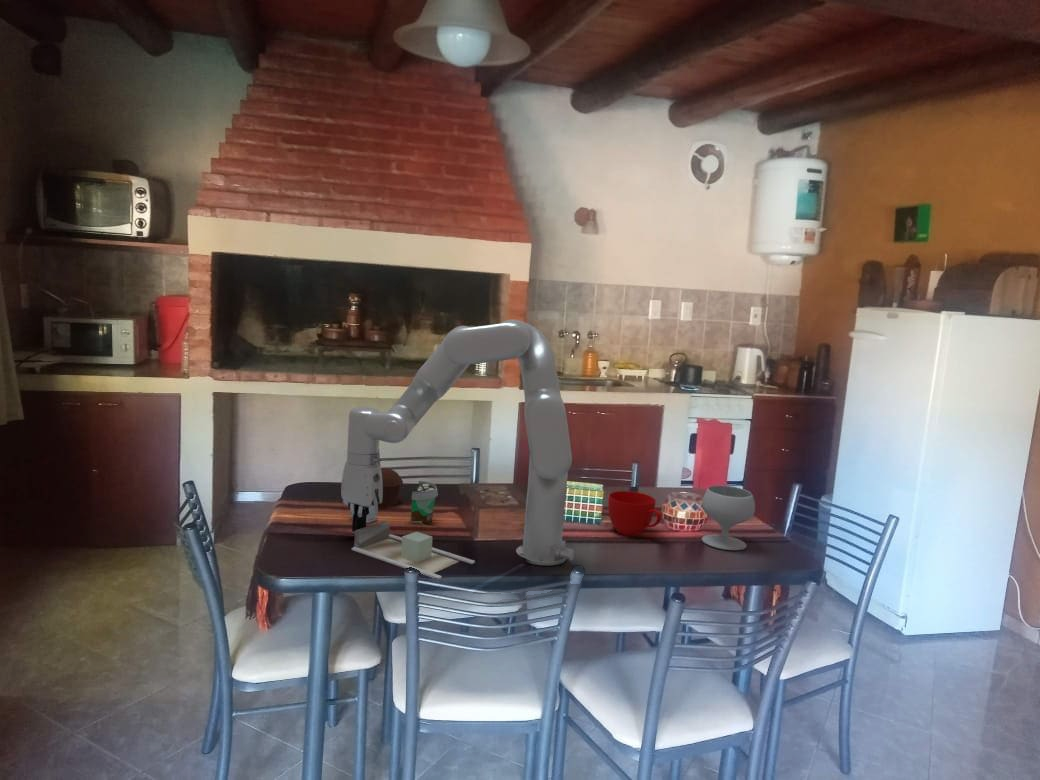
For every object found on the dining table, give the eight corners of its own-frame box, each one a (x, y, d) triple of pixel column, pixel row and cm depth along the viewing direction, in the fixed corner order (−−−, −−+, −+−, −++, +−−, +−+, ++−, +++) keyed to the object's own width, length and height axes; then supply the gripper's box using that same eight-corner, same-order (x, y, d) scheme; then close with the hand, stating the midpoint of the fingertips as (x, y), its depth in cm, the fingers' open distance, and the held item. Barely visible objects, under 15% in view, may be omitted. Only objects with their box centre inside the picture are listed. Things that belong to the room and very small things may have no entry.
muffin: (403, 508, 219) (405, 475, 217) (364, 509, 216) (366, 474, 214) (399, 496, 230) (401, 464, 229) (361, 496, 227) (363, 464, 226)
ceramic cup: (641, 547, 202) (645, 511, 200) (595, 528, 215) (599, 494, 213) (672, 539, 210) (676, 504, 209) (627, 522, 223) (630, 488, 222)
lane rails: (474, 567, 179) (475, 560, 178) (437, 584, 167) (438, 577, 167) (390, 540, 192) (391, 534, 192) (351, 554, 181) (351, 548, 180)
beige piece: (459, 565, 179) (460, 544, 178) (432, 577, 170) (433, 556, 170) (382, 540, 191) (383, 521, 190) (353, 550, 183) (355, 530, 182)
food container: (432, 530, 202) (435, 494, 201) (409, 528, 202) (411, 492, 201) (438, 516, 214) (441, 481, 213) (417, 514, 214) (419, 480, 213)
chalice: (750, 540, 215) (757, 489, 213) (749, 556, 202) (756, 501, 200) (699, 532, 219) (705, 481, 217) (695, 547, 206) (701, 493, 204)
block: (431, 557, 180) (432, 536, 179) (417, 562, 176) (418, 541, 175) (414, 551, 182) (416, 531, 182) (400, 557, 178) (402, 536, 177)
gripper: (396, 461, 185) (392, 534, 188) (351, 450, 193) (347, 520, 195) (374, 466, 179) (370, 541, 181) (329, 454, 186) (326, 527, 189)
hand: (358, 530), depth 188 cm, fingers closed
